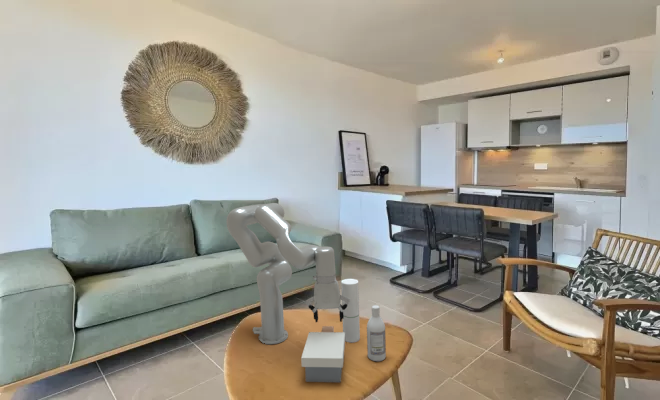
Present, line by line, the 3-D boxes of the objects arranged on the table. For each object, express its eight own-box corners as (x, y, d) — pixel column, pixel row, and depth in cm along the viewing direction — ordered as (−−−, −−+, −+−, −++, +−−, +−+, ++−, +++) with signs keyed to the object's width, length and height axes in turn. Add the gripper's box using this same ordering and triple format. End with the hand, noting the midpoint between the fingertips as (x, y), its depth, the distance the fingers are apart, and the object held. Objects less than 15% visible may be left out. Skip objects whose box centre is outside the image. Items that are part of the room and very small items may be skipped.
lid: (342, 367, 114) (342, 358, 114) (301, 366, 115) (301, 357, 115) (345, 333, 137) (345, 326, 136) (311, 333, 138) (310, 326, 138)
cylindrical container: (359, 334, 148) (358, 278, 146) (359, 342, 141) (358, 284, 139) (343, 334, 149) (341, 278, 147) (342, 342, 142) (340, 284, 139)
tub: (340, 382, 116) (339, 360, 115) (305, 381, 117) (304, 359, 116) (342, 356, 131) (342, 336, 131) (312, 355, 133) (311, 336, 132)
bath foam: (389, 358, 129) (388, 307, 127) (374, 363, 126) (372, 312, 124) (379, 350, 135) (378, 301, 133) (364, 354, 132) (362, 305, 130)
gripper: (302, 282, 130) (305, 325, 131) (347, 280, 128) (350, 324, 130) (305, 276, 138) (308, 317, 139) (348, 274, 136) (351, 316, 137)
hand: (328, 320), depth 134 cm, fingers open, 9 cm apart
